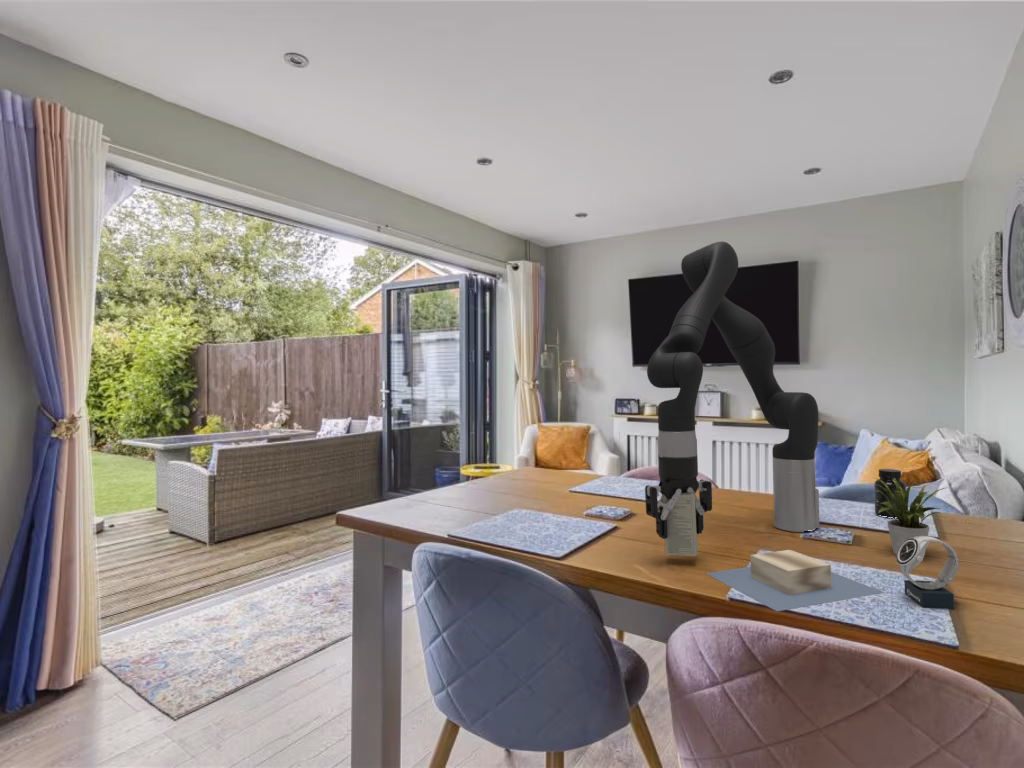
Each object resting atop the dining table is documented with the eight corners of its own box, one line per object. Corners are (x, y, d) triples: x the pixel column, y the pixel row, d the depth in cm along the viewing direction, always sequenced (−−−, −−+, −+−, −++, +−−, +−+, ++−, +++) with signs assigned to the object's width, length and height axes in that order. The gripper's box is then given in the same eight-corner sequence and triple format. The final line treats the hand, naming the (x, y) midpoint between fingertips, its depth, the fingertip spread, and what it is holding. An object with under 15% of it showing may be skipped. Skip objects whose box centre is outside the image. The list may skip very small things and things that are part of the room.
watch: (891, 598, 92) (890, 532, 92) (946, 600, 90) (944, 533, 90) (908, 612, 86) (907, 542, 86) (967, 615, 85) (965, 543, 85)
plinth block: (790, 570, 103) (790, 549, 103) (831, 587, 95) (830, 564, 94) (750, 576, 101) (750, 555, 101) (788, 594, 92) (788, 571, 92)
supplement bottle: (870, 512, 148) (869, 468, 148) (898, 513, 146) (898, 468, 146) (882, 518, 141) (881, 472, 141) (912, 519, 140) (911, 472, 140)
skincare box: (697, 550, 110) (695, 489, 110) (697, 557, 106) (695, 494, 106) (665, 548, 113) (663, 488, 112) (663, 554, 108) (661, 493, 108)
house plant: (845, 548, 118) (843, 472, 118) (886, 539, 124) (885, 467, 124) (916, 568, 105) (914, 483, 105) (959, 557, 110) (957, 476, 110)
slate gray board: (799, 563, 109) (799, 559, 109) (884, 597, 92) (884, 592, 92) (705, 577, 103) (705, 573, 103) (777, 616, 86) (777, 611, 86)
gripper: (696, 448, 115) (699, 526, 115) (635, 453, 111) (638, 534, 111) (720, 452, 108) (722, 536, 108) (655, 458, 104) (658, 545, 104)
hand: (680, 535), depth 109 cm, fingers closed on skincare box, 7 cm apart
